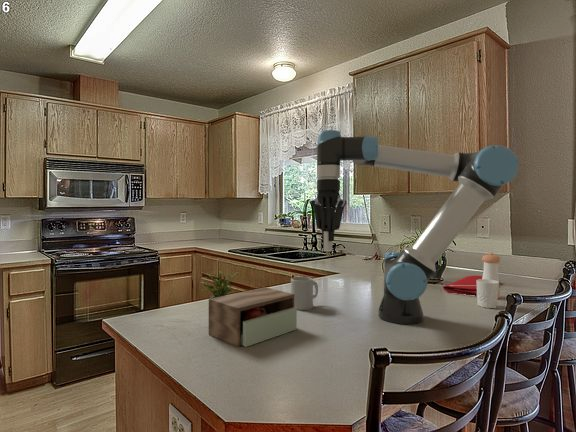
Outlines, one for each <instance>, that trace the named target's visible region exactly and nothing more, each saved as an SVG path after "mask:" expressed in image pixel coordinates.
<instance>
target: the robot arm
mask: <svg viewBox="0 0 576 432" xmlns="http://www.w3.org/2000/svg"><path fill="white" fill-rule="evenodd" d="M343 161H344V162H345V161H351V162H353V163H354V164H355V165H357V166H370V167H379V168H385V169H392V170H397V171H398V170H399V171H406V172H410V173H419V174H425V175H432V176H439V177H444V178H445V177H446V178H448V179H449V180H450V181H451V182H457V183H458V185H457V186H456V187H455V189H454V190H453V191H452V193H451V194H450V195H449V197H447V200H445V202H444V203H443V205H442V206H441V208H439V210H438V211H437V212H436V213H435V215H434V217H433V218H432V219H431V221H430V222H429V223H428V224H427V226H426V227H425V228H424V229H423V231H422V232H421V233H420V235H419V236H418V237H417V239H415V241H414V243H413V244H412V246H410V247H404V248H403V249H402V250H401V251H400V252H398V251H396V252H395V251H393V252H392V251H387V252H385V254H384V259H383V262H384V269H383V270H384V272H383V273H384V275H383V276H384V277H383V296H382V299H381V302H380V304H379V308H378V312H377V313H378V314H377V315H378V316H377V317H379V318H380V319H381V320H383V321H385V322H389V323H395V324H400V325H401V324H405V325H411V324H420V323H421V322H423V321H424V311H423V307H422V304H421V302H420V297H421V296H423V294H425V291H426V289H427V286H428V282H429V281H430V279H431V278H432V277H433V275H434V274H435V273H436V271H437V270H436V263H437V261H438V260H439V259H440V258H441V257H442V255H443V254H444V253H445V251H447V249H448V248H449V246H450V245H451V244H452V243H453V241H454V240H455V239H456V237H457V236H458V235H459V233H460V232H461V231H462V230H463V228H464V227H465V226H466V225H467V224H468V222H469V220H471V218H472V217H473V216H474V214H475V213H476V212H477V211H478V209H479V208H480V207H481V205H482V204H483V203H484V201H487V200H492V199H494V198H495V196H496V195H497V194H498V193H499V191H500V190H501V189H502V188H503V187H504V185H507V184H509V183H510V182H511V181H512V180H513V179H514V178H515V177H516V175H517V174H518V171H519V160H518V157H517V155H516V154H515V152H514V151H513V150H511V149H510V148H509V147H507V146H505V145H498V144H497V145H496V144H494V145H487V146H485V147H482V148H481V149H480V150H478V151H475V152H455V153H454V154H451V153H450V154H449V153H442V152H435V151H426V150H420V149H419V150H418V149H412V148H405V147H396V146H391V145H383V144H379V138H378V137H377V136H375V135H372V136H369V135H366V136H364V135H363V136H342V135H341V131H339V130H336V129H335V130H332V129H329V130H328V129H326V130H321V131H319V132H318V134H317V144H316V162H317V163H316V178H317V180H316V191H317V196H316V198H315V199H313V200H311V201H310V203H311V206H312V207H313V213H314V218H315V223H316V228H317V229H318V230H321V241H323V252H332V251H333V242H334V241H335V232H336V231H338V230H340V228H341V227H340V226H341V222H342V218H343V213H344V209H345V207H346V205H347V200H344V199H342V198H341V194H340V191H341V180H340V178H341V162H343Z"/></svg>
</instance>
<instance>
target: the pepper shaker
mask: <svg viewBox="0 0 576 432" xmlns="http://www.w3.org/2000/svg"><path fill="white" fill-rule="evenodd" d="M481 261H482V262H483V273H482V276H483V277H482V279H488V280H495V281H498V282H499V281H500V280H499V263H501V258H500V256H498V255H496V254H494V253H493V252H489V253H488V254H484V255H483V256H482V258H481ZM500 294H501V292H500V289H499V290H498V298H499V299H500V298H501V296H500Z"/></svg>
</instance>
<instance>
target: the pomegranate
mask: <svg viewBox="0 0 576 432" xmlns="http://www.w3.org/2000/svg"><path fill="white" fill-rule="evenodd" d="M265 315H267V313H266V310H265V308H263V307H255V308H251V309H247V310H246V312H245V314H244V320H245V321H247V320H250V319H254V318H257V317H261V316H265Z"/></svg>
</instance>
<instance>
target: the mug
mask: <svg viewBox="0 0 576 432" xmlns="http://www.w3.org/2000/svg"><path fill="white" fill-rule="evenodd" d="M290 293H291V294H294V307H295V308H297V311H308V310H311V309H313V308H314V299H315V298H317V296H318V293H319V285H318V283H317V281H315V280H314V279H313V278H312V277H309V276H294V277H291V278H290Z"/></svg>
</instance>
